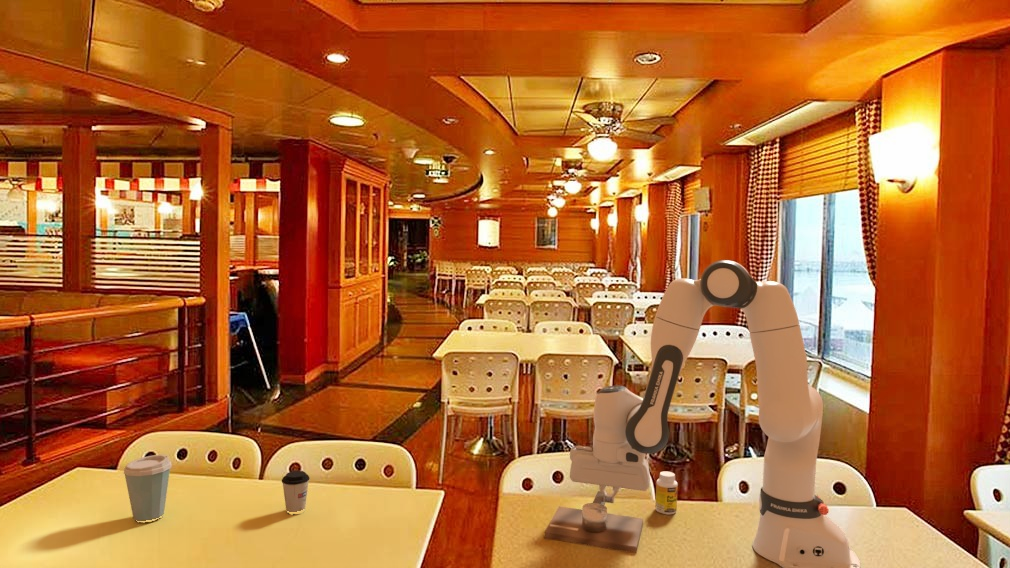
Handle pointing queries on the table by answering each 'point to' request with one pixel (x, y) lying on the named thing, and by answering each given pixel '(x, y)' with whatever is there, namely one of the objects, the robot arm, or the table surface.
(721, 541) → the table surface
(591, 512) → the lever handle
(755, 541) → the robot arm
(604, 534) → the lock base
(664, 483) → the supplement bottle
